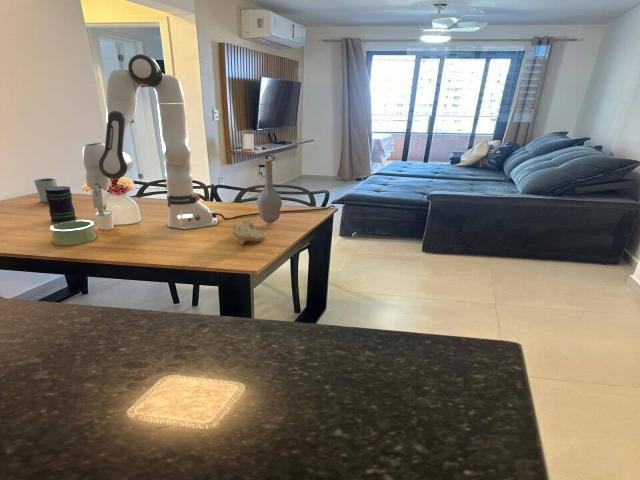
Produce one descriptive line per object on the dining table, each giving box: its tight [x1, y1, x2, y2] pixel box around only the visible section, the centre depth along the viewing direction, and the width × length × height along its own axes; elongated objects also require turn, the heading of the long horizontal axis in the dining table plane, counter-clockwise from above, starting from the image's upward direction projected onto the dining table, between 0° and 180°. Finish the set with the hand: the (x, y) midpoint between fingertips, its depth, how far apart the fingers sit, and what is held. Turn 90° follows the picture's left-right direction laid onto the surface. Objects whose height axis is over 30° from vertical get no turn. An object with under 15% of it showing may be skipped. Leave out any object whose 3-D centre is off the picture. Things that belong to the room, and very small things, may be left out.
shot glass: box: [95, 210, 115, 231], centre depth 168 cm, size 7×7×7 cm
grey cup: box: [33, 177, 58, 204], centre depth 212 cm, size 10×10×12 cm
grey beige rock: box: [231, 218, 267, 246], centre depth 153 cm, size 15×7×15 cm
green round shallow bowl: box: [49, 219, 97, 247], centre depth 152 cm, size 15×15×6 cm
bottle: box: [256, 159, 283, 225], centre depth 176 cm, size 11×11×30 cm
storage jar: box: [45, 185, 77, 223], centre depth 177 cm, size 10×10×15 cm
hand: (103, 213), depth 167 cm, fingers open, 8 cm apart
